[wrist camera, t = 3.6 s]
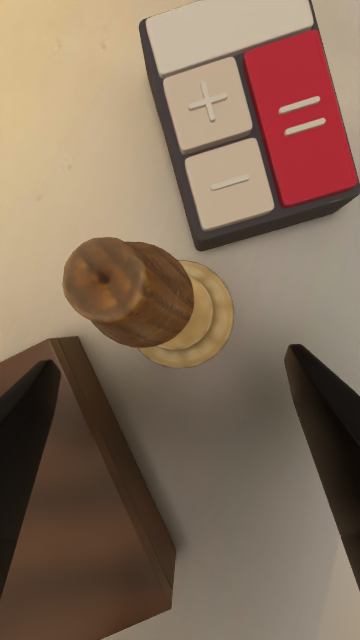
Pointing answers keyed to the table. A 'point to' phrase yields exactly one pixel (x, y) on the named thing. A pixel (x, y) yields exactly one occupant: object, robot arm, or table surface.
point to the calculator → (248, 116)
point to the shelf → (83, 519)
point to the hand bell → (150, 300)
